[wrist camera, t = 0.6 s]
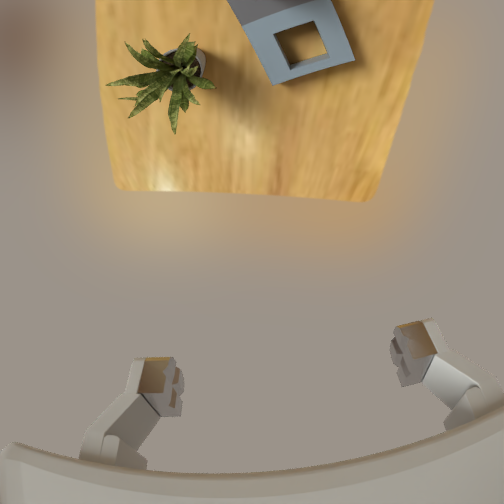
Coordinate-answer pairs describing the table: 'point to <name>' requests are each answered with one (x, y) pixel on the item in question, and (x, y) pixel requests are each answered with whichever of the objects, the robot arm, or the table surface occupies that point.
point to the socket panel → (284, 17)
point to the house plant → (168, 77)
